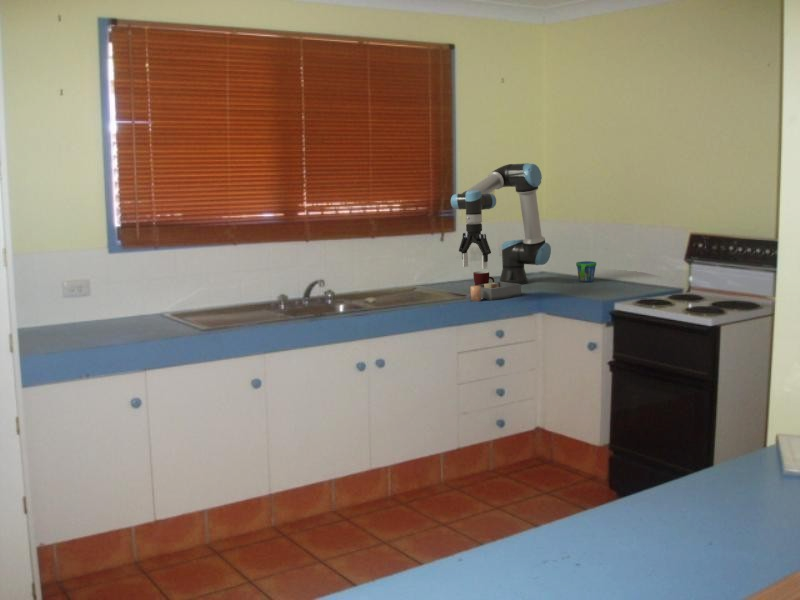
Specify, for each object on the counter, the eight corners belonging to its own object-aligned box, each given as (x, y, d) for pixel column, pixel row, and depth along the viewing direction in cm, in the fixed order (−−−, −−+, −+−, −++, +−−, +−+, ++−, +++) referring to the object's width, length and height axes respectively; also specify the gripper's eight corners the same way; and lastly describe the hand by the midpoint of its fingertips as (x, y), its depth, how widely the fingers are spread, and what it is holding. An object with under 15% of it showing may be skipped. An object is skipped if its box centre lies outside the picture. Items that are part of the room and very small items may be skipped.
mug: (492, 289, 464) (491, 270, 463) (496, 291, 456) (495, 272, 455) (472, 291, 463) (471, 271, 461) (475, 293, 455) (475, 273, 453)
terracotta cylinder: (476, 299, 436) (476, 285, 435) (483, 300, 432) (483, 286, 431) (468, 300, 433) (468, 286, 432) (475, 301, 429) (475, 287, 428)
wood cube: (491, 292, 448) (491, 282, 448) (498, 293, 445) (498, 283, 444) (484, 293, 445) (484, 283, 445) (491, 294, 442) (491, 284, 441)
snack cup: (590, 283, 471) (590, 264, 469) (571, 283, 476) (571, 264, 475) (600, 279, 484) (600, 261, 482) (582, 279, 490) (582, 260, 488)
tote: (500, 292, 455) (499, 281, 454) (521, 295, 443) (521, 284, 442) (470, 297, 443) (470, 286, 442) (491, 300, 431) (491, 289, 430)
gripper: (450, 223, 434) (452, 266, 437) (486, 224, 414) (487, 270, 418) (462, 221, 439) (463, 265, 442) (498, 223, 419) (498, 268, 422)
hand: (475, 267), depth 430 cm, fingers open, 13 cm apart
